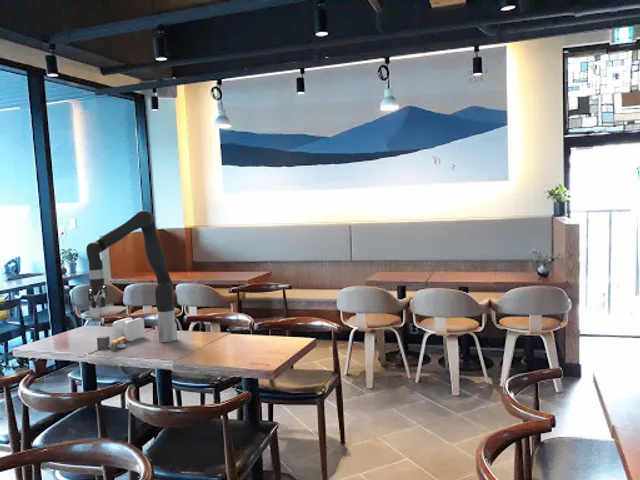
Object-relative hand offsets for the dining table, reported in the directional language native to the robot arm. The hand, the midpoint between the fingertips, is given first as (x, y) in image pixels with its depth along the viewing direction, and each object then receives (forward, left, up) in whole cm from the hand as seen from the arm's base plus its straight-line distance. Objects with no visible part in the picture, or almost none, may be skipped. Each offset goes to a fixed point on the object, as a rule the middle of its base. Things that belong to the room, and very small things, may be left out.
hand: (98, 306), depth 292 cm
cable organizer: (-10, -13, -22) cm, 27 cm away
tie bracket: (-14, +6, -22) cm, 27 cm away
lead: (-10, +6, -22) cm, 25 cm away
